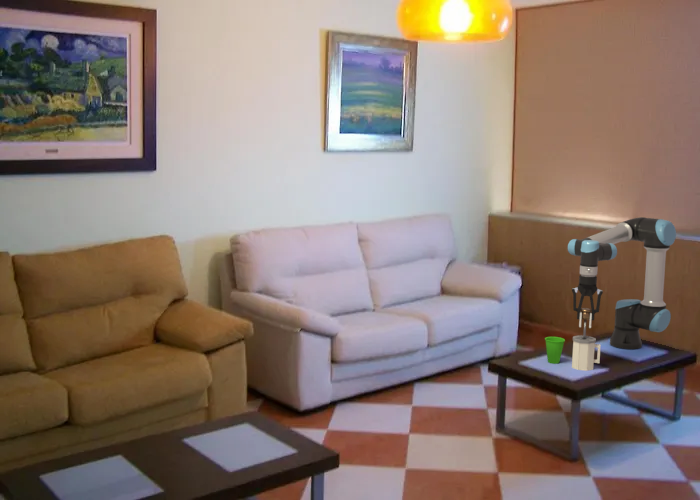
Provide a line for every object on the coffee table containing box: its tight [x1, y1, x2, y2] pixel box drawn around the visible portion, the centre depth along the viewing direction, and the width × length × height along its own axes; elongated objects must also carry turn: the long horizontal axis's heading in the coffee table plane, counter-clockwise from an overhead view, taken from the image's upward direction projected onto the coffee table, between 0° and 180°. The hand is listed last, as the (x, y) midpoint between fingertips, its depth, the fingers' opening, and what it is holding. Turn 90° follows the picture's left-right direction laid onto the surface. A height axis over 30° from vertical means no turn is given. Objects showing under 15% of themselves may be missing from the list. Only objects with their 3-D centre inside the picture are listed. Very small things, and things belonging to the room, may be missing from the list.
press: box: [571, 334, 601, 372], centre depth 367 cm, size 10×12×14 cm
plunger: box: [580, 307, 592, 339], centre depth 365 cm, size 6×6×22 cm
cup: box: [544, 336, 566, 365], centre depth 374 cm, size 9×9×11 cm
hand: (584, 326), depth 365 cm, fingers closed on plunger, 4 cm apart
